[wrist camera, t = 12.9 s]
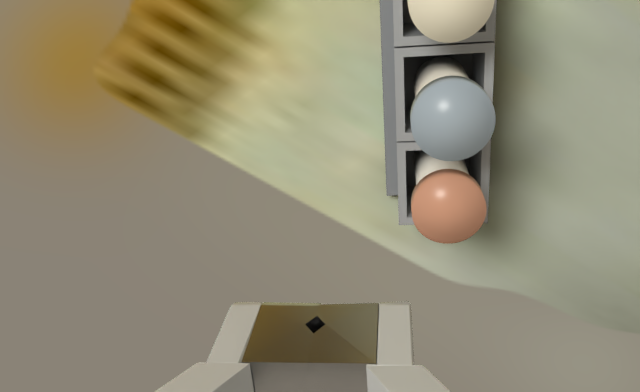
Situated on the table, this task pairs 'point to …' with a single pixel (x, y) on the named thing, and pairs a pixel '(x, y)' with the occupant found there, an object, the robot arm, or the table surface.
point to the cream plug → (449, 18)
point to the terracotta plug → (446, 200)
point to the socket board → (398, 94)
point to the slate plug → (450, 111)
